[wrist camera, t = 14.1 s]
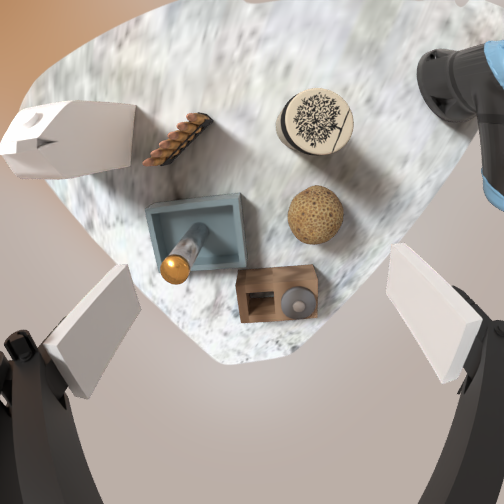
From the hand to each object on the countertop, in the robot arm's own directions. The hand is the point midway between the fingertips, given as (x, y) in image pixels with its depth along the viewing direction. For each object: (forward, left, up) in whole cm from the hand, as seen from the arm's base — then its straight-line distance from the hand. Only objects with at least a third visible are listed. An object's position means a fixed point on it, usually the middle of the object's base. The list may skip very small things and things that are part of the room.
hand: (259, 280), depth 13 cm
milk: (+28, -12, -37) cm, 48 cm away
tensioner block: (-1, +21, -37) cm, 42 cm away
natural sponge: (-8, +6, -37) cm, 38 cm away
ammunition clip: (+12, -8, -37) cm, 40 cm away
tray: (+12, +9, -37) cm, 40 cm away
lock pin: (+12, +9, -36) cm, 39 cm away
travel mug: (-7, -8, -37) cm, 38 cm away
